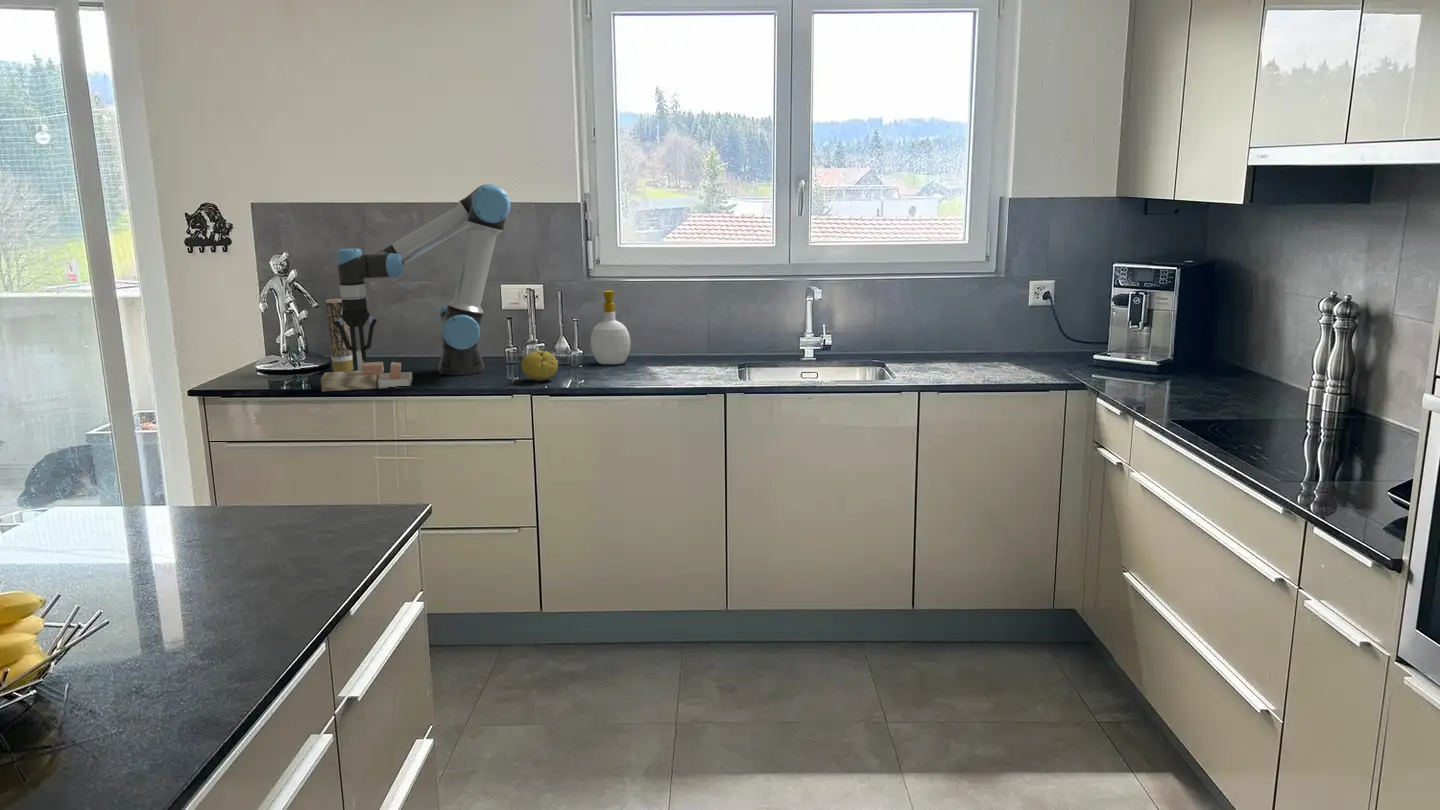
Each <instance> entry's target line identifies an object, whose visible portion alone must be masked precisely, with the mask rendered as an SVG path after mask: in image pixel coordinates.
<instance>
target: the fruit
mask: <svg viewBox="0 0 1440 810" xmlns="http://www.w3.org/2000/svg"><path fill="white" fill-rule="evenodd" d="M521 359H522V360H521V364H520V365H521V369H522V371H523V374H524V375H525V376H527V377H528V378H529V379H531V380H534V381H537V382H543V381H546V380H548V379H550V378H552V377H553V376H554V375H555V374H556V373H557V371H558V367H559V364H558V360H557V358H556V357H555V355H554V354H552V353H551V352H549V351H546V350H545V351H543V350H540V349H537V350H534V351H533V352H529V353H528V354H526V355H524V356H523V358H521Z"/></svg>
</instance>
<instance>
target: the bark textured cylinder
mask: <svg viewBox="0 0 1440 810" xmlns="http://www.w3.org/2000/svg"><path fill="white" fill-rule="evenodd" d="M342 299H343V298H331V299H329V298H327V299H325V309H326V317H327V318H326V319H327V327H328V337H329V348H330V356H331V367H332V372H343V371H354V363H353V362H354V359H353V352H352V351H351V350H347V349H346V346H345V344H344V341H343V338H342V336H341V333H340V330H339V328H338V327H337V326H336V324H335V321H336V320H339V319H340V318H341V315H342V313H343V311H342V302H341V300H342ZM343 323H344V324H343V326H344V329H345V332H346V334H347V337H348V340H349V343H350V345H351V346H352V342H351V332H350V327H349V326H348V325H347V324H346V323H345V321H344V320H343Z"/></svg>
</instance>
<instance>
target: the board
mask: <svg viewBox="0 0 1440 810" xmlns="http://www.w3.org/2000/svg"><path fill="white" fill-rule="evenodd" d="M379 376H380V374H378V375H363V371H361V372H358V370H353V371H343V372H333V371H328V372H324V373H323V375H322V376H321V378H320V385H321V391H322V392H333V391H334V392H335V391H336V392H337V391H350V390H351V391H352V390H371V389H377V388H378V378H379Z"/></svg>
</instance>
